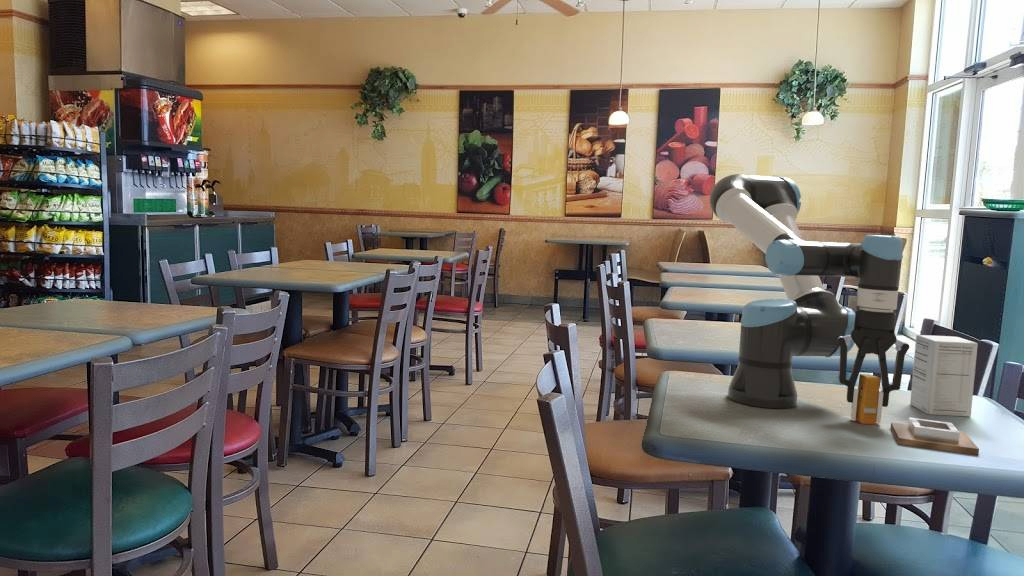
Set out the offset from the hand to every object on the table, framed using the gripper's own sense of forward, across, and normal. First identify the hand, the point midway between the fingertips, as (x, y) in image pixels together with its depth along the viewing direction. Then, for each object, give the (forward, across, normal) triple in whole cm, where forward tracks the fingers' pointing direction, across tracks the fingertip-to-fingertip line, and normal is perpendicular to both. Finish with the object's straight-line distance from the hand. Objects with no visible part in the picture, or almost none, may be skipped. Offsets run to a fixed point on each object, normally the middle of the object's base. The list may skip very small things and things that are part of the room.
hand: (865, 419), depth 148 cm
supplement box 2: (+1, +17, +21) cm, 27 cm away
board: (+1, +11, -8) cm, 14 cm away
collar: (-1, +11, -8) cm, 14 cm away
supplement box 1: (+1, 0, 0) cm, 1 cm away
